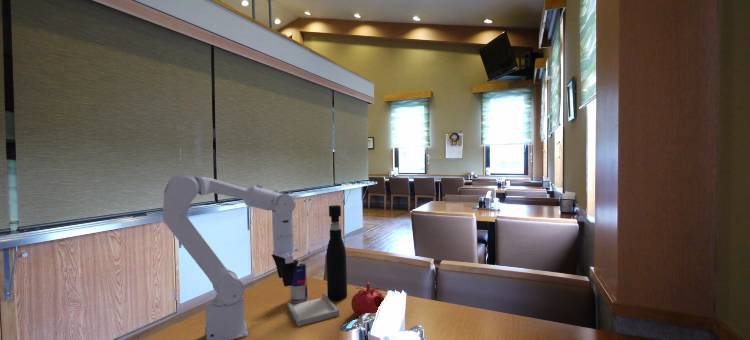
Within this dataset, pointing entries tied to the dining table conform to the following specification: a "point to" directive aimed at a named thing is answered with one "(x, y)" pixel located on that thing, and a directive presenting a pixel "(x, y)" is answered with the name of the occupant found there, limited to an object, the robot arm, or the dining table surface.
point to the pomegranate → (366, 301)
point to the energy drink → (299, 284)
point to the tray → (313, 310)
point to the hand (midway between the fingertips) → (285, 281)
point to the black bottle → (336, 259)
